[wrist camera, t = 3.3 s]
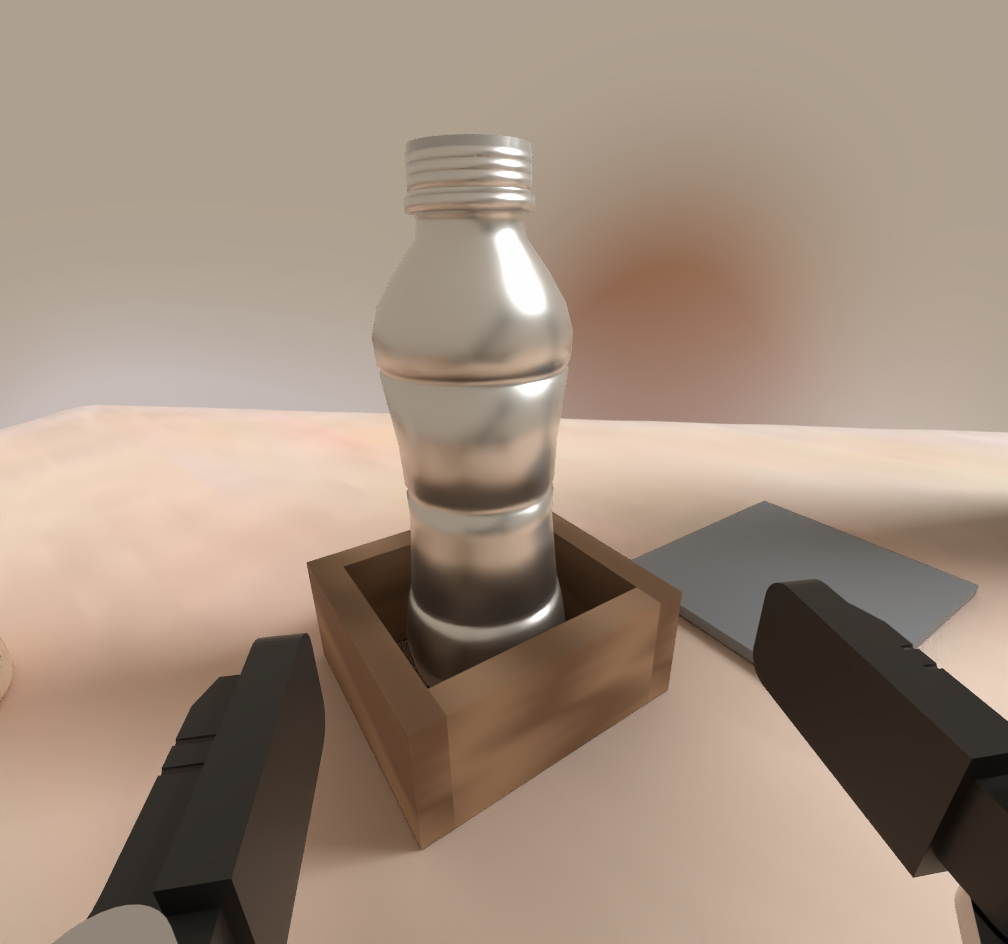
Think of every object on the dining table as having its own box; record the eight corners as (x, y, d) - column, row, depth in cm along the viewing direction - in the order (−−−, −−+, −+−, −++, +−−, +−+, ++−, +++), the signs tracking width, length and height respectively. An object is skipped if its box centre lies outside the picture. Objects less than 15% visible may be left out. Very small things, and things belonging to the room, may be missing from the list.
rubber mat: (763, 508, 37) (764, 500, 37) (975, 595, 28) (978, 585, 28) (618, 574, 30) (619, 565, 30) (838, 719, 21) (842, 708, 20)
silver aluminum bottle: (590, 706, 22) (630, 130, 13) (425, 754, 20) (359, 116, 12) (532, 610, 27) (537, 163, 19) (400, 640, 25) (343, 157, 17)
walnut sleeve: (523, 572, 30) (524, 494, 28) (667, 689, 22) (682, 592, 20) (324, 653, 24) (306, 562, 22) (421, 850, 17) (407, 736, 15)
